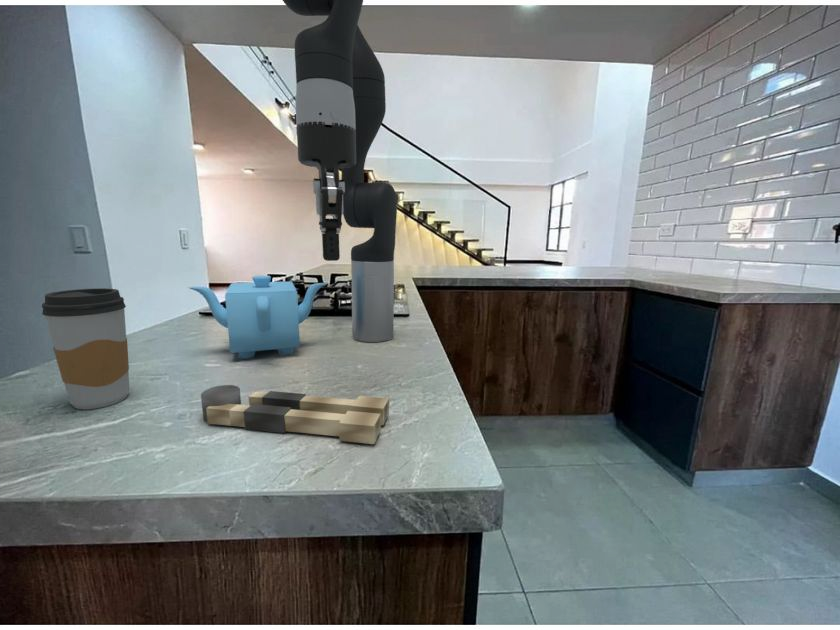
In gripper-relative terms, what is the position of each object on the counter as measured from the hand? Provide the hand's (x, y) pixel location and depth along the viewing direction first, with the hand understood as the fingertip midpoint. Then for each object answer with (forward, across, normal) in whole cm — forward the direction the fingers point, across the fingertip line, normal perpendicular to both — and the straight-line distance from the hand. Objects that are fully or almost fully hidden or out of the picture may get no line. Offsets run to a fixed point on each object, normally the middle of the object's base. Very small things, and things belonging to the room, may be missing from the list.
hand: (331, 260), depth 54 cm
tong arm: (+19, +8, -3) cm, 21 cm away
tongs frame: (+19, +10, -7) cm, 23 cm away
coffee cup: (+19, -4, -32) cm, 37 cm away
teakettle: (+20, -24, -12) cm, 34 cm away
